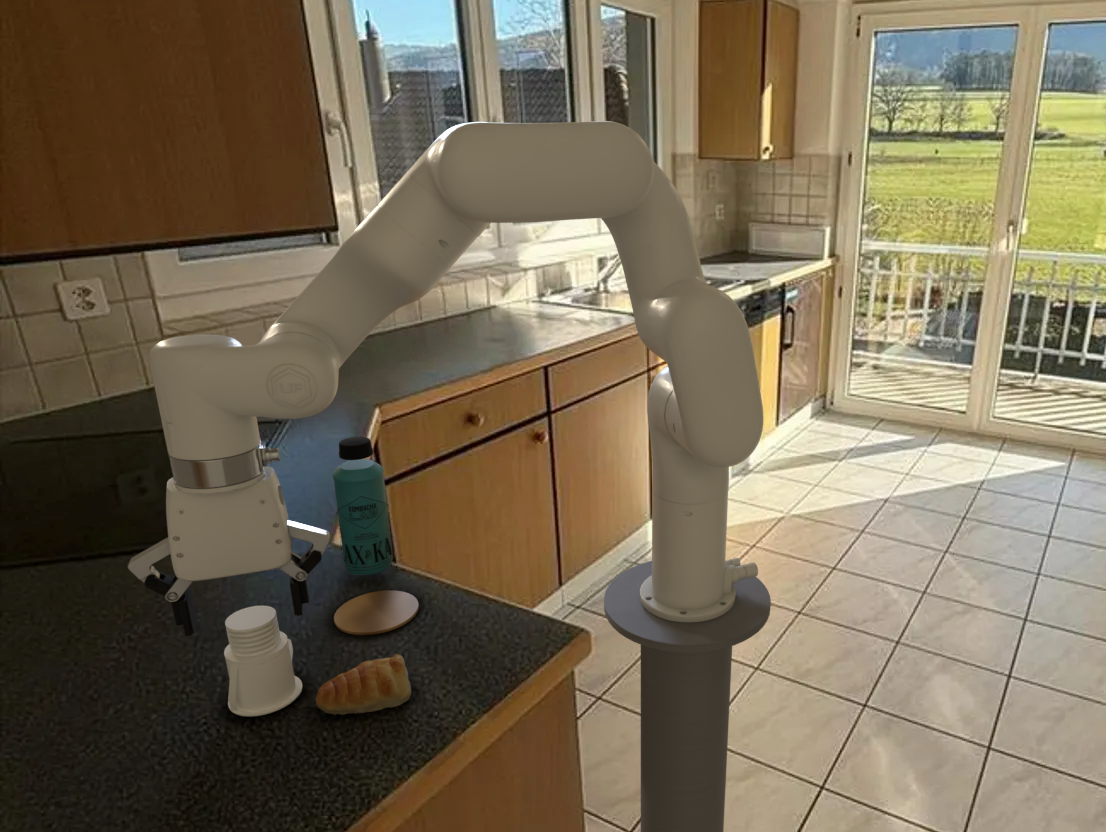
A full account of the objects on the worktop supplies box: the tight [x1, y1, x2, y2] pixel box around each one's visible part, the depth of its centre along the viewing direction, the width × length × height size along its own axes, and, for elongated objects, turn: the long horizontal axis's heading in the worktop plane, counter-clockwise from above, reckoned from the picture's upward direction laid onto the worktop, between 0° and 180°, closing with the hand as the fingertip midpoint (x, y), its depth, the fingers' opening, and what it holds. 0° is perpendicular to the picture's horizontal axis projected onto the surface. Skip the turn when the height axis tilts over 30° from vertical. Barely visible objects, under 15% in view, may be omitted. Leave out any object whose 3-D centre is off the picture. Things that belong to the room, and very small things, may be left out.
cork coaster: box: [333, 589, 420, 636], centre depth 101 cm, size 10×10×1 cm
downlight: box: [223, 605, 303, 717], centre depth 83 cm, size 8×7×10 cm
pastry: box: [315, 653, 412, 716], centre depth 85 cm, size 9×7×4 cm
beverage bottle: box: [332, 436, 395, 576], centre depth 107 cm, size 6×7×20 cm
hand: (246, 618), depth 81 cm, fingers open, 9 cm apart
